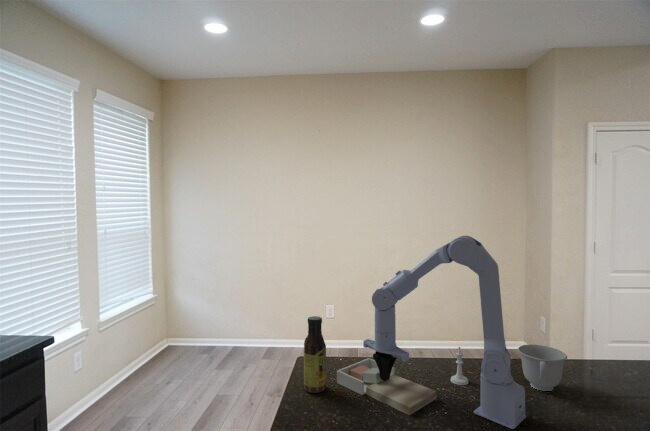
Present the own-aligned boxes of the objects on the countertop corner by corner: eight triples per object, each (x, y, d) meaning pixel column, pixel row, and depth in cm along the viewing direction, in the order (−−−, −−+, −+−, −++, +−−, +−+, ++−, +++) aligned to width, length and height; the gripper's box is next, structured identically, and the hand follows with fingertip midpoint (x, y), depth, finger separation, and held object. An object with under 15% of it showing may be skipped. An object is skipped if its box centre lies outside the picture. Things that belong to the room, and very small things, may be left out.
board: (436, 398, 99) (436, 391, 99) (409, 415, 91) (409, 407, 91) (393, 381, 109) (393, 374, 109) (366, 394, 101) (366, 387, 101)
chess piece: (465, 377, 111) (465, 344, 111) (470, 385, 106) (470, 350, 106) (448, 377, 111) (448, 343, 111) (452, 384, 106) (452, 350, 106)
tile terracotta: (373, 378, 110) (373, 369, 110) (362, 383, 106) (362, 375, 106) (360, 373, 114) (360, 364, 114) (349, 378, 110) (349, 369, 110)
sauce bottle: (323, 395, 101) (323, 322, 101) (301, 393, 102) (300, 320, 102) (328, 384, 107) (327, 315, 107) (307, 382, 108) (306, 314, 108)
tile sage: (388, 378, 106) (386, 368, 107) (377, 383, 103) (375, 374, 103) (374, 376, 110) (373, 367, 110) (363, 381, 106) (362, 372, 107)
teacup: (517, 396, 100) (517, 359, 99) (517, 374, 113) (517, 341, 113) (571, 407, 94) (571, 367, 94) (565, 383, 107) (565, 348, 107)
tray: (394, 379, 110) (394, 367, 110) (362, 395, 101) (362, 382, 101) (368, 369, 117) (368, 357, 117) (336, 382, 108) (336, 370, 108)
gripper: (415, 333, 101) (415, 383, 101) (374, 322, 112) (374, 367, 112) (399, 339, 96) (399, 392, 96) (358, 326, 107) (358, 374, 107)
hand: (385, 379), depth 104 cm, fingers closed
